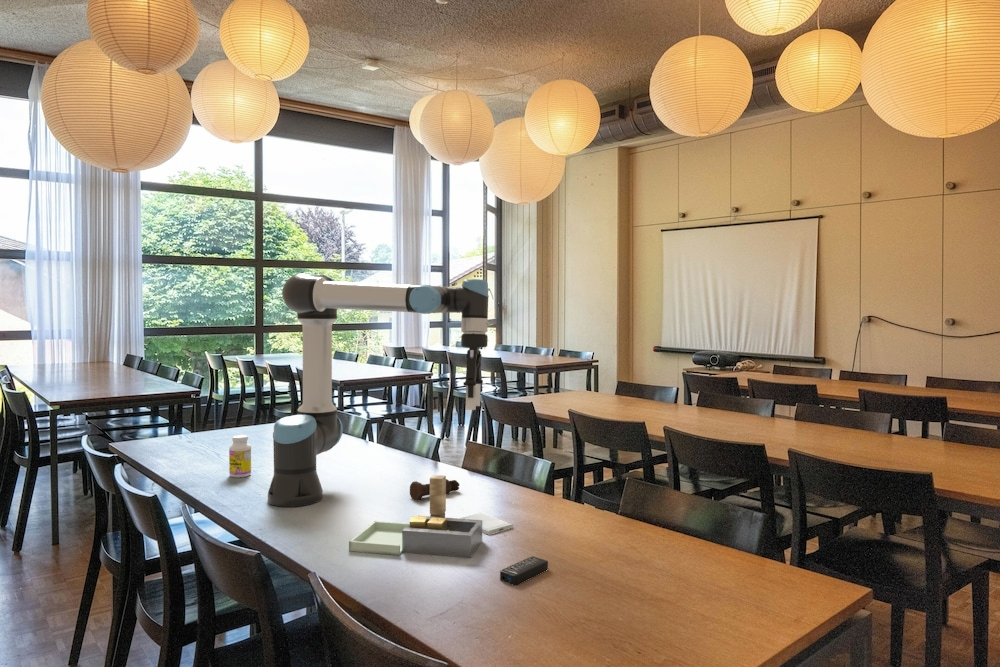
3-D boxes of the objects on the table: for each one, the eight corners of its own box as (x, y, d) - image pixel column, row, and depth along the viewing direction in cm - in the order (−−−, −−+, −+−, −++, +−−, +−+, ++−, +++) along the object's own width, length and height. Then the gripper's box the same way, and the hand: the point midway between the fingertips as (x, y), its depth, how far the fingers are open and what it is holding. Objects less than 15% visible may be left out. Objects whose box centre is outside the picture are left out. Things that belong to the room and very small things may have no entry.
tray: (348, 551, 154) (348, 541, 154) (374, 529, 169) (374, 521, 169) (399, 555, 152) (399, 545, 152) (420, 533, 166) (420, 524, 166)
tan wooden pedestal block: (428, 530, 168) (428, 478, 168) (434, 525, 173) (434, 474, 172) (441, 531, 168) (441, 479, 167) (446, 526, 172) (446, 475, 171)
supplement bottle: (224, 476, 220) (224, 437, 219) (239, 472, 226) (239, 433, 225) (241, 479, 217) (240, 439, 216) (255, 474, 223) (255, 435, 223)
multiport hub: (548, 571, 144) (548, 560, 144) (515, 587, 136) (515, 576, 136) (532, 566, 147) (532, 555, 147) (499, 581, 139) (499, 570, 139)
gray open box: (402, 552, 154) (402, 530, 153) (418, 536, 164) (417, 515, 164) (470, 557, 150) (470, 535, 150) (482, 541, 161) (482, 520, 161)
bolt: (458, 498, 204) (414, 505, 194) (450, 486, 207) (407, 493, 198) (464, 483, 201) (420, 490, 192) (456, 472, 205) (413, 478, 195)
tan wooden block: (427, 535, 156) (427, 522, 156) (432, 529, 160) (432, 517, 160) (441, 536, 155) (441, 523, 155) (446, 530, 159) (446, 518, 159)
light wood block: (409, 534, 157) (409, 521, 156) (412, 528, 161) (412, 516, 160) (424, 534, 156) (424, 522, 156) (427, 529, 160) (427, 516, 160)
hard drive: (457, 518, 175) (488, 530, 165) (481, 512, 180) (513, 523, 171) (457, 524, 175) (488, 537, 166) (481, 518, 180) (513, 529, 171)
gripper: (483, 332, 182) (482, 411, 182) (490, 334, 207) (489, 404, 206) (456, 331, 183) (454, 411, 182) (466, 334, 208) (464, 404, 207)
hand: (473, 407), depth 194 cm, fingers open, 13 cm apart
